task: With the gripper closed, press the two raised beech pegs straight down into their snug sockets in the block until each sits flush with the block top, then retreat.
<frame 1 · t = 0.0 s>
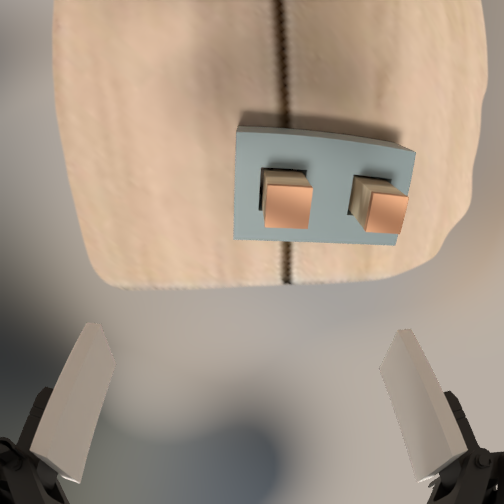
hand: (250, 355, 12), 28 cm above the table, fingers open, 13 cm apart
peg b: (376, 203, 30), point 8 cm above the table, slide at 0.0 cm
peg a: (284, 196, 30), point 8 cm above the table, slide at 0.0 cm
socket block: (316, 177, 37), on the table
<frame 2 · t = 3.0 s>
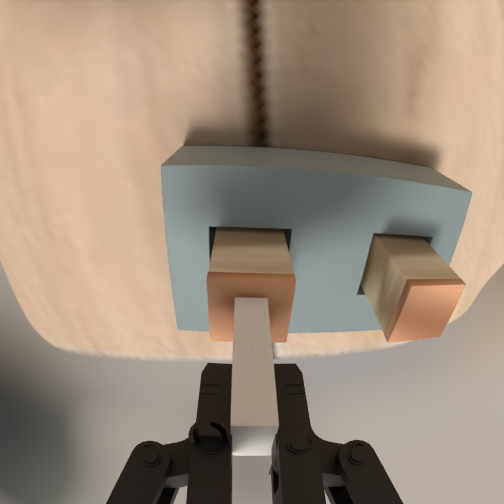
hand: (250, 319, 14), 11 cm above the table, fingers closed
peg b: (407, 283, 17), point 8 cm above the table, slide at 0.0 cm
peg a: (249, 278, 17), point 8 cm above the table, slide at 0.4 cm, touching gripper
socket block: (310, 224, 24), on the table
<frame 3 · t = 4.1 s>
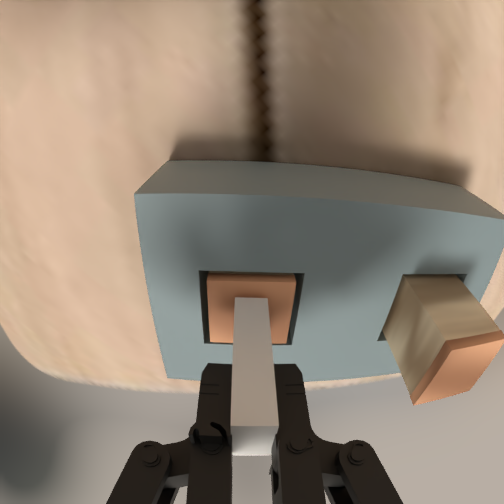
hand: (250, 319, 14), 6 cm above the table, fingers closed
peg b: (438, 332, 13), point 8 cm above the table, slide at 0.0 cm
peg a: (249, 279, 17), point 3 cm above the table, slide at 4.8 cm, touching gripper
socket block: (322, 253, 20), on the table
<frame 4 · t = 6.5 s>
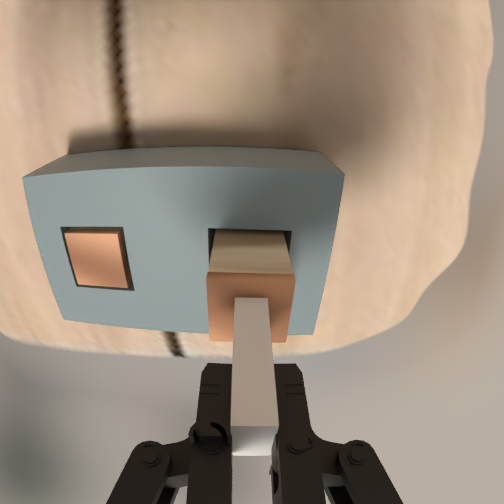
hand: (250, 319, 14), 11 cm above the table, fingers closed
peg b: (248, 278, 17), point 7 cm above the table, slide at 0.6 cm, touching gripper
peg a: (111, 239, 20), point 3 cm above the table, slide at 4.8 cm
socket block: (184, 221, 23), on the table
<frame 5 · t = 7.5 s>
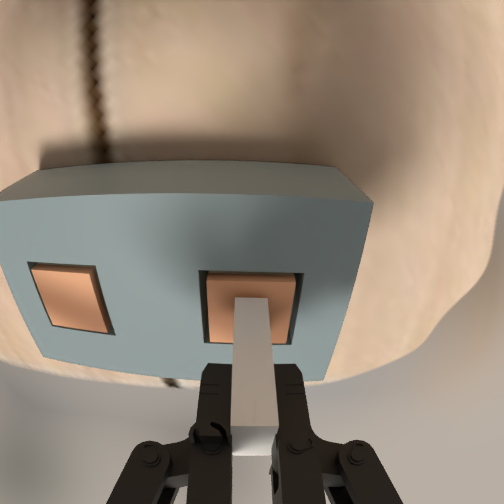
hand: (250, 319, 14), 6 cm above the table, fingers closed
peg b: (248, 279, 17), point 3 cm above the table, slide at 4.8 cm, touching gripper
peg a: (88, 272, 17), point 3 cm above the table, slide at 4.8 cm
socket block: (173, 249, 20), on the table
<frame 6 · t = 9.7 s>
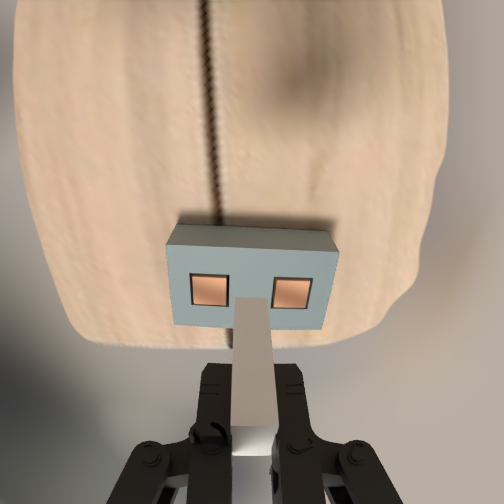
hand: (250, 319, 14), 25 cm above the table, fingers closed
peg b: (288, 281, 39), point 3 cm above the table, slide at 4.8 cm
peg a: (211, 278, 39), point 3 cm above the table, slide at 4.8 cm
socket block: (250, 267, 42), on the table
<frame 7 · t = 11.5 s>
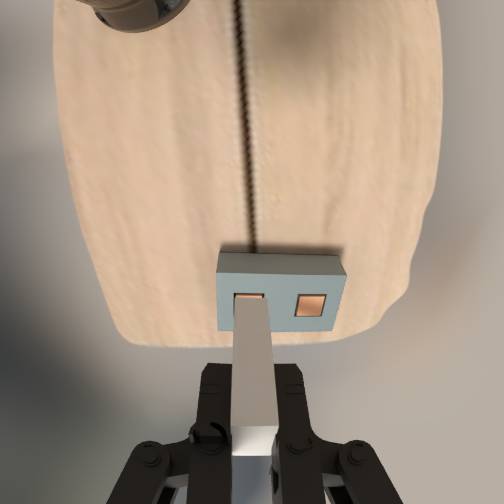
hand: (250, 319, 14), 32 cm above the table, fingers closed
peg b: (307, 295, 51), point 3 cm above the table, slide at 4.8 cm
peg a: (248, 294, 50), point 3 cm above the table, slide at 4.8 cm
socket block: (276, 283, 53), on the table
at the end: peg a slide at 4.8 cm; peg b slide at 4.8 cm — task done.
